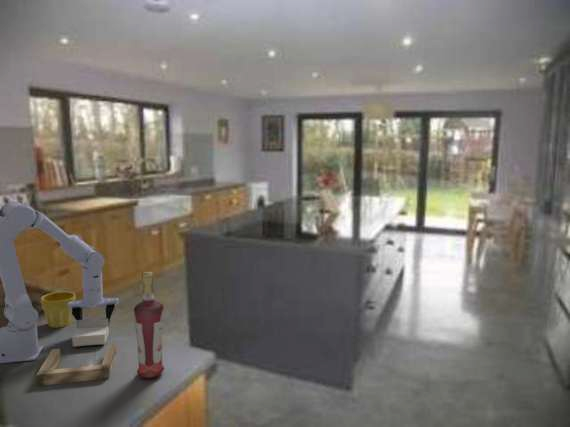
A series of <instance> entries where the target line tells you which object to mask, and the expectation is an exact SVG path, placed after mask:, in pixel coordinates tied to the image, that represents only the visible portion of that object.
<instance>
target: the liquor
mask: <svg viewBox="0 0 570 427" xmlns="http://www.w3.org/2000/svg"><path fill="white" fill-rule="evenodd" d="M141 278H142V279H141V280H142V283H143V290H142V301H141V302H139V303H137V304H136V305H135V306H134V307H133V312H134V314H133V315H134V328H135V336H136V344H137V345H136V346H137V357H138V358H137V360H138V368H137V371H136V372H137V375H139V376H140V377H142V378H143V379H146V380H147V379H155V378H157V377H158V376H159V375H161V374H162V373H163V371H164V370H165V366H164V365H163V335H164V332H163V331H164V328H163V327H164V304H163V303H161V302H159V300H158V301H157V300H155V294H154V287H153V282H154V272H153V271H144V272H142V273H141Z"/></svg>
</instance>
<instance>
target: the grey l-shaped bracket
mask: <svg viewBox="0 0 570 427" xmlns="http://www.w3.org/2000/svg"><path fill="white" fill-rule="evenodd" d="M75 323H76V329H75V331H74V333H73V335H72V336H71V340H72V347H74V348H79V347H83V346H84V347H85V346H95V345H100V346H105V345H106V342H107V340H108V336H109V334H110V333H109V328H110V327H109V328H108V318H106V317H101V318H89V319H88V318H87V319H86V318H85V319H83V320H77V321H76V322H75Z"/></svg>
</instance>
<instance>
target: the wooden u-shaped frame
mask: <svg viewBox="0 0 570 427" xmlns="http://www.w3.org/2000/svg"><path fill="white" fill-rule="evenodd" d="M105 351H106V352H105V355H104V356H103V359H102V364H99V365H98V364H95V365H86V366H77V367H76V366H75V367H66V368H57V367H58V364H59V363H60V360H61V357H62V356H61V348H54V349H51V351H50V352H49V354H48V355H47V357H46V359H45V360H44V362H43V363H42V365H41V366H40V369H39V370H38V371H37V373H36V386H37V387H39V386H40V387H41V386H50V385H59V384H61V385H62V384H67V383H77V382H78V383H79V382H88V381H89V380H90V381H97V379H100V380H108V379H110V377H111V373H112V370H113V368H114V364H115V361H114V360H116V357H117V355H118V354H117V343H112V344H111V343H110V344H108V346H107V349H106V350H105ZM107 378H108V379H107Z"/></svg>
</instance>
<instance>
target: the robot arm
mask: <svg viewBox="0 0 570 427" xmlns="http://www.w3.org/2000/svg"><path fill="white" fill-rule="evenodd" d="M30 227H31V228H33V229H40V230H41V231H42V232H44V233H46V234H47V235H48V236H50V237H51V239H54V240H55V241H56V242H58V243H60V244H59V245H60V250H61V251H63V253H65V254H66V255H67V256H69V257H71V259H73V260H74V261H76V262H77V263H78V265H79V266H81V277H82V279H81V280H82V297H83V299H80V300H76V301H73V302H69V303H68V310H72V316H73V317H74V319H75V320H76V321H77V320H84V318H83V316H84V315H83V310H84V309H86V308H89V309H90V308H99V307H100V308H101V307H105V318H108V328H110V323H111V322H110V321H111V318H112V315H113V313H114V310H115V307H118V305H119V298H118V297H113V298H112V297H104V292H103V291H104V289H103V270H102V268H103V267H104V265H105V262H106V260H105V259H104V257H103V256H104V255H102V253H101V252H99V251H96V250H94V249H95V247H94V246H92V245H89V244H87V243H86V242H85V241H84V240H83V237H82V236H81V235H76V234H68V233H66V232H65V231H64V230H63V229H62V228H60V226H58V225H57V224H56V223H54V221H52V220H51V219H50V218H48V217H47V216H46V215H45V214H43V213H41V212H40V211H38V210H35V209H34V208H33V207H32V206H30V205H28V204H23V203H21V202H18V201H9V202H7V203H5V204H4V205H3V206H2V207H1V208H0V281H1V283H2V288H3V291H4V294H5V297H4V303H5V304H4V305H5V307H4V309H3V314H4V317H5V318H6V319H7V320H8V323H7V325H6V326H3V327H0V364H5V363H8V364H9V363H16V362H19V363H20V362H28V361H35V360H37V358H38V357H39V355H40V354H41V353H42V351H43V349H44V346H43V345H41V346H39V338H38V326H37V325H38V324H37V322H38V320H39V317H40V316H39V312H38V310H37V309H36V308H34V307H33V305H32V300H31V299H30V296H29V295H28V293H27V288H26V284H25V281H24V277H23V274H22V270H21V266H20V262H19V258H18V254H17V250H16V246H15V242H14V240H15V239H16V238H17V237H18V236H19V235H20V233H21V232H23V231H24V230H27V229H28V228H30Z"/></svg>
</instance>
